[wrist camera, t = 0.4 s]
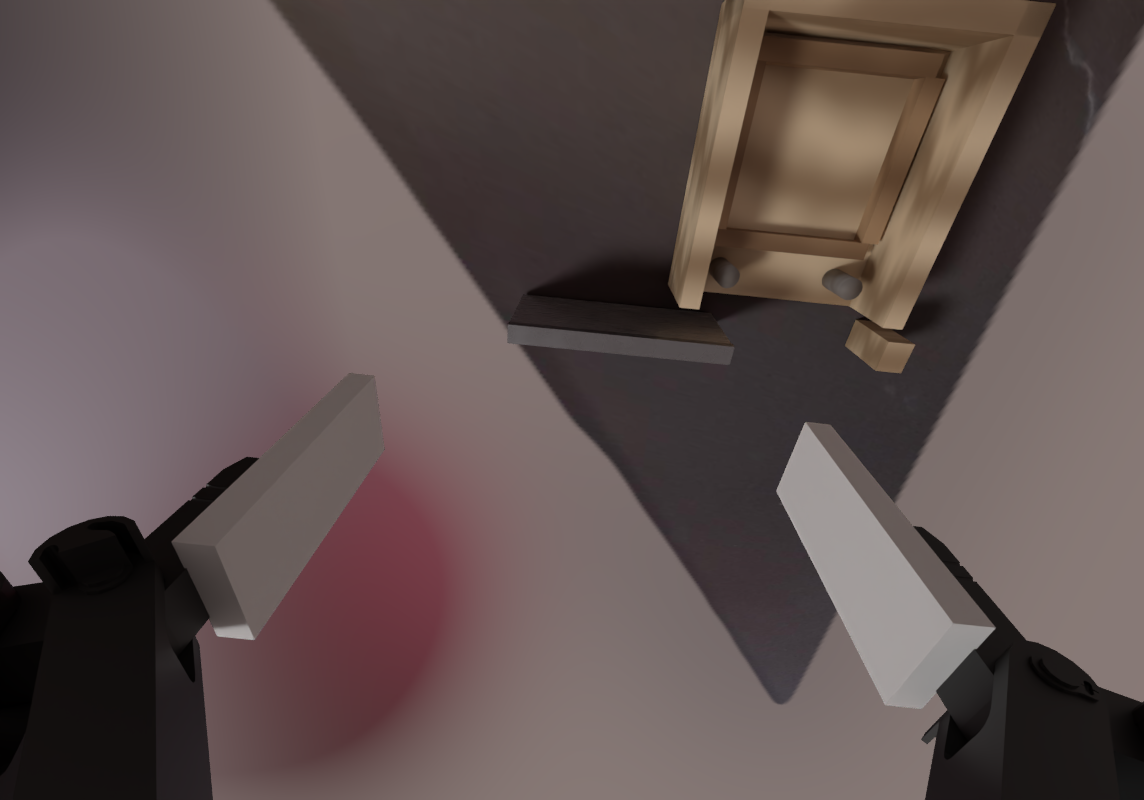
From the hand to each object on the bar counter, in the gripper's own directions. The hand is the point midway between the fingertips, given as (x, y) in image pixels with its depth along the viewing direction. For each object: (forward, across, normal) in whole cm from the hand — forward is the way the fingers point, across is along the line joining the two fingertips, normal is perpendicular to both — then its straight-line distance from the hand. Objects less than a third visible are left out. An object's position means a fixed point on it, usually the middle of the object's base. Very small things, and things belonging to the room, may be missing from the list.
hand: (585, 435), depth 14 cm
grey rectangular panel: (+26, +2, -4) cm, 27 cm away
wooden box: (+26, +16, +5) cm, 31 cm away
